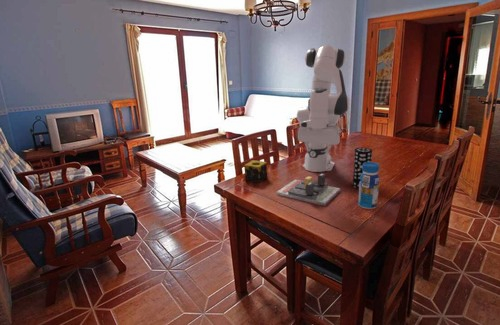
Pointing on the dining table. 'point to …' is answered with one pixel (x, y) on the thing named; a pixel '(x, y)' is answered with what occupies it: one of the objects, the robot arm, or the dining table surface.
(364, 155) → the white-spotted black cylinder
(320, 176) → the breaker
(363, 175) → the blue lidded canister
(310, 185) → the breaker
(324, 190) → the panel
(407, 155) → the dining table surface
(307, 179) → the breaker
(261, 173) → the candle
